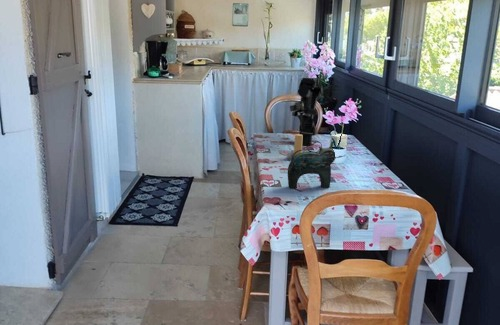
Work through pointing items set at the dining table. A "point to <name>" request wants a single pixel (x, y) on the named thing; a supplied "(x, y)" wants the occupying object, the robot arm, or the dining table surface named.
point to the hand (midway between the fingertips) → (302, 128)
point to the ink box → (337, 138)
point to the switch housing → (294, 155)
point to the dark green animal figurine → (311, 165)
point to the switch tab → (298, 143)
